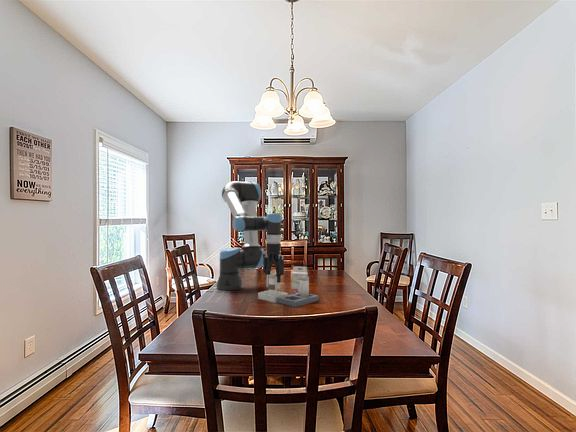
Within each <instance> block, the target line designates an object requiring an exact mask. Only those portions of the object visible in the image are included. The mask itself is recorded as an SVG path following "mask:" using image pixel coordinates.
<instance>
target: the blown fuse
mask: <svg viewBox="0 0 576 432" xmlns="http://www.w3.org/2000/svg"><path fill="white" fill-rule="evenodd" d="M275 276H276V273H271V274H269V287H268V291H269V295H272V296H277V295H278V291H279V289H275Z"/></svg>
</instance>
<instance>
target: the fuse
mask: <svg viewBox="0 0 576 432" xmlns="http://www.w3.org/2000/svg"><path fill="white" fill-rule="evenodd" d="M309 286H310V276H300V296H301V297H309V294H310V293H309V291H310V287H309Z"/></svg>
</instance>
